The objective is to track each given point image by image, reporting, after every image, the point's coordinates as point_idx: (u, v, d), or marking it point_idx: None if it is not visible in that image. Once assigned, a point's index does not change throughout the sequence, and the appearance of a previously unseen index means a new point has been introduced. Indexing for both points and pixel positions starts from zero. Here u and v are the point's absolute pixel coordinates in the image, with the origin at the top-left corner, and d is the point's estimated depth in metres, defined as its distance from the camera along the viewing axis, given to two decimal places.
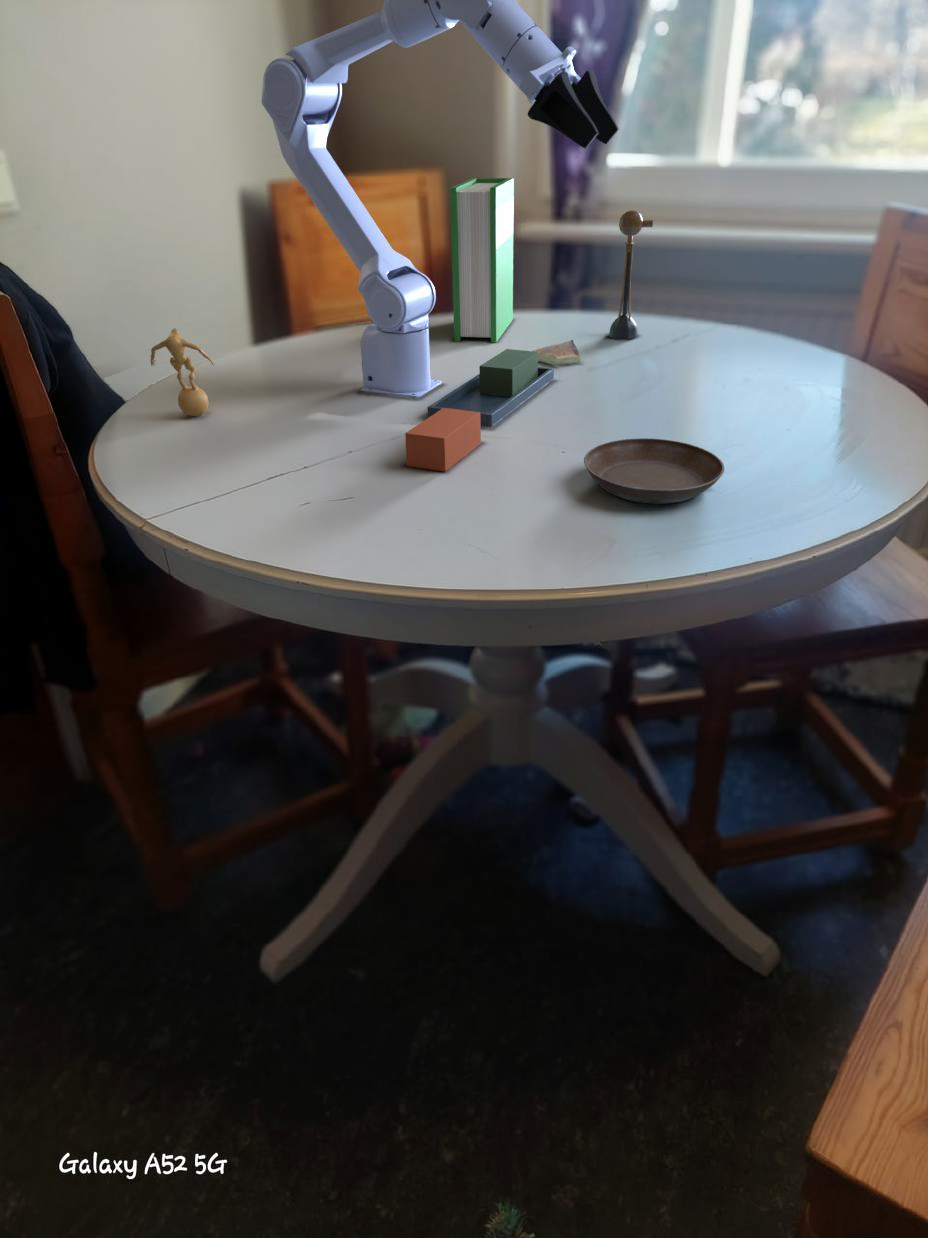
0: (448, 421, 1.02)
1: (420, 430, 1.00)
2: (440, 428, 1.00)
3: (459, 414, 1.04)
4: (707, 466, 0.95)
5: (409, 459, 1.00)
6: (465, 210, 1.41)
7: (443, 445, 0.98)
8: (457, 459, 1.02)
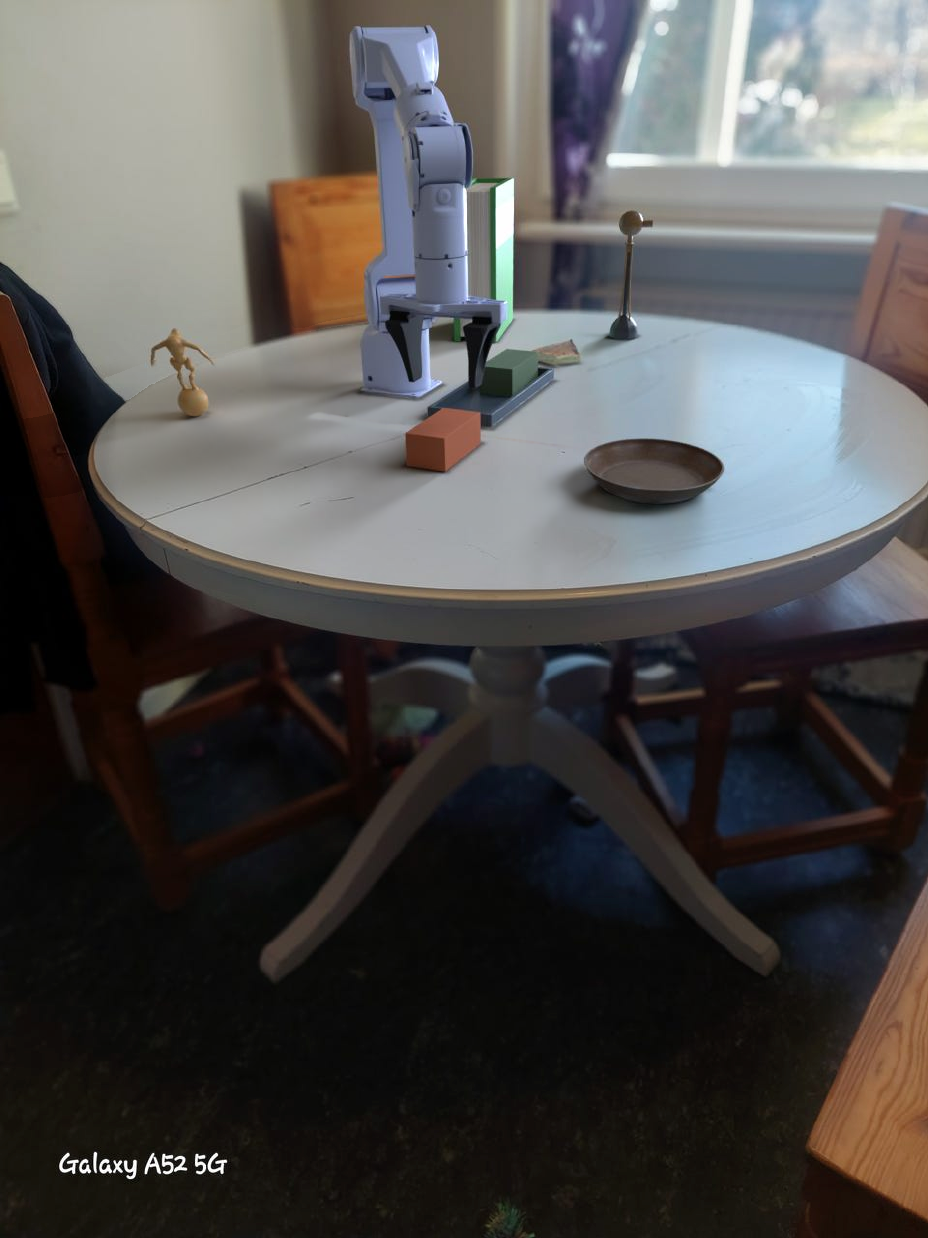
0: (448, 421, 1.02)
1: (420, 430, 1.00)
2: (440, 428, 1.00)
3: (459, 414, 1.04)
4: (707, 466, 0.95)
5: (409, 459, 1.00)
6: None
7: (443, 445, 0.98)
8: (457, 459, 1.02)
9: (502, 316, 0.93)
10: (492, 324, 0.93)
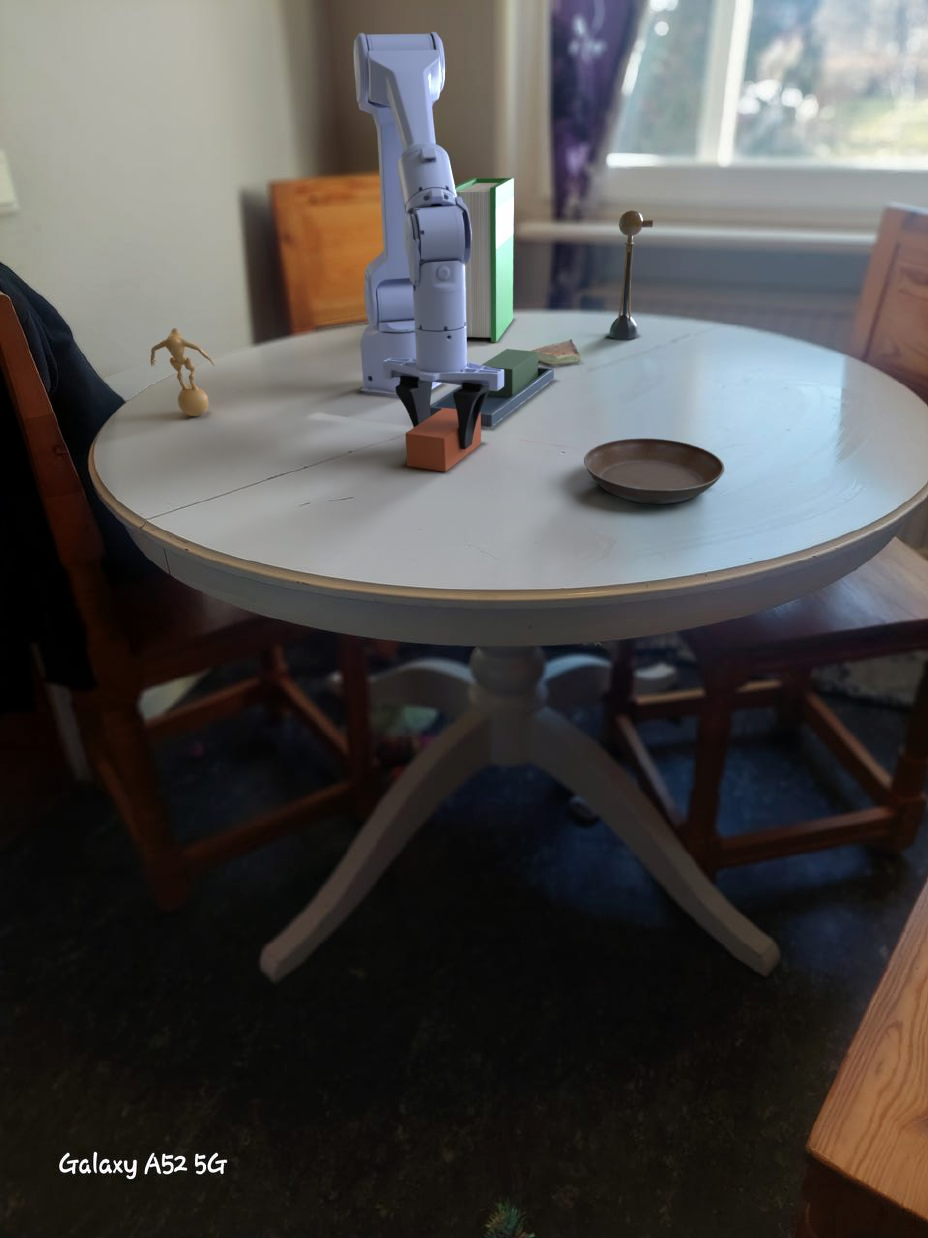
0: (448, 421, 1.02)
1: (421, 430, 1.00)
2: (441, 428, 1.00)
3: None
4: (707, 466, 0.95)
5: (409, 459, 1.00)
6: None
7: (443, 445, 0.98)
8: (457, 459, 1.02)
9: (499, 384, 0.96)
10: (481, 390, 0.97)
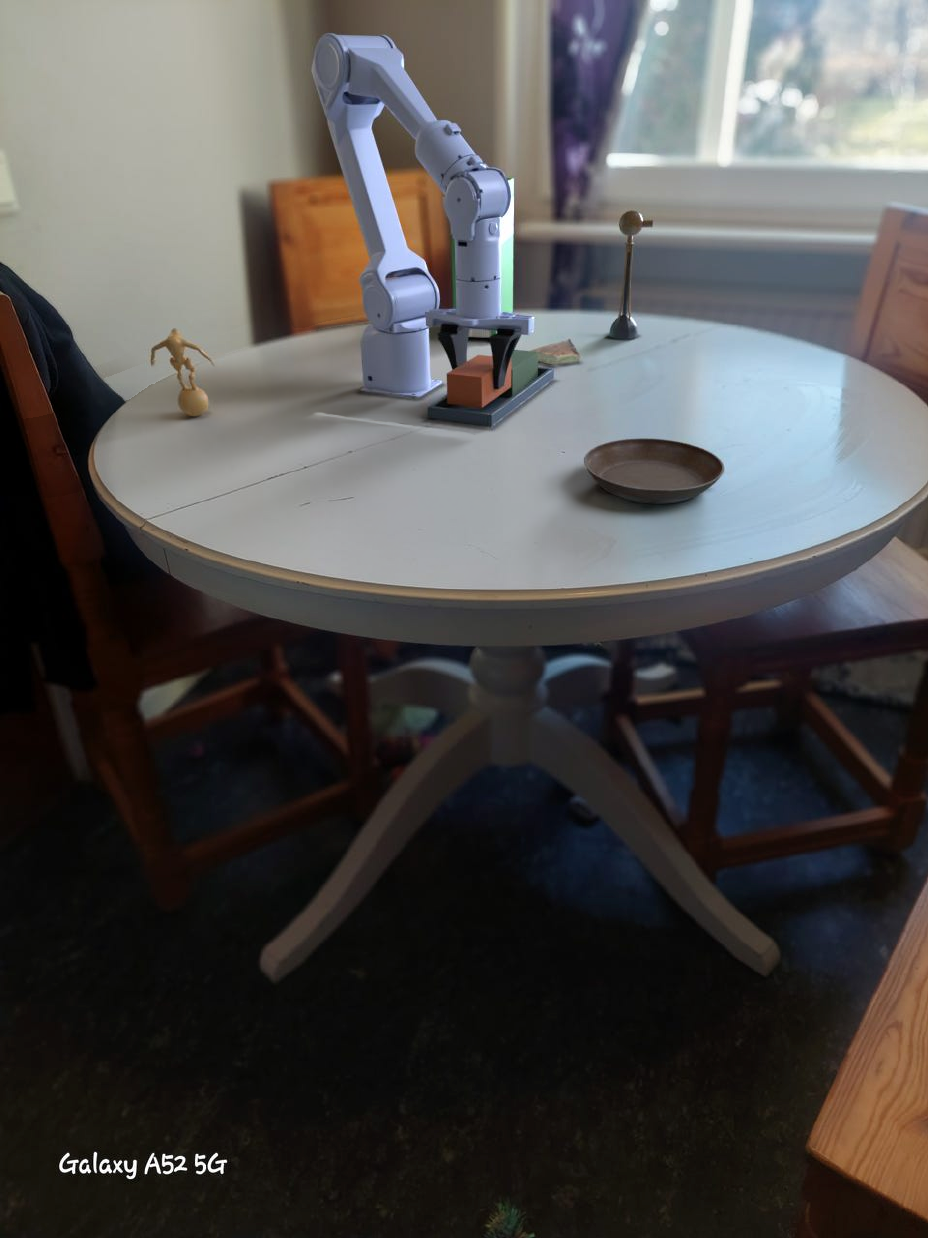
0: (483, 364, 1.15)
1: (460, 371, 1.13)
2: (477, 369, 1.13)
3: (492, 359, 1.17)
4: (707, 466, 0.95)
5: (449, 397, 1.14)
6: None
7: (481, 383, 1.11)
8: (492, 398, 1.15)
9: (530, 329, 1.09)
10: (513, 335, 1.11)
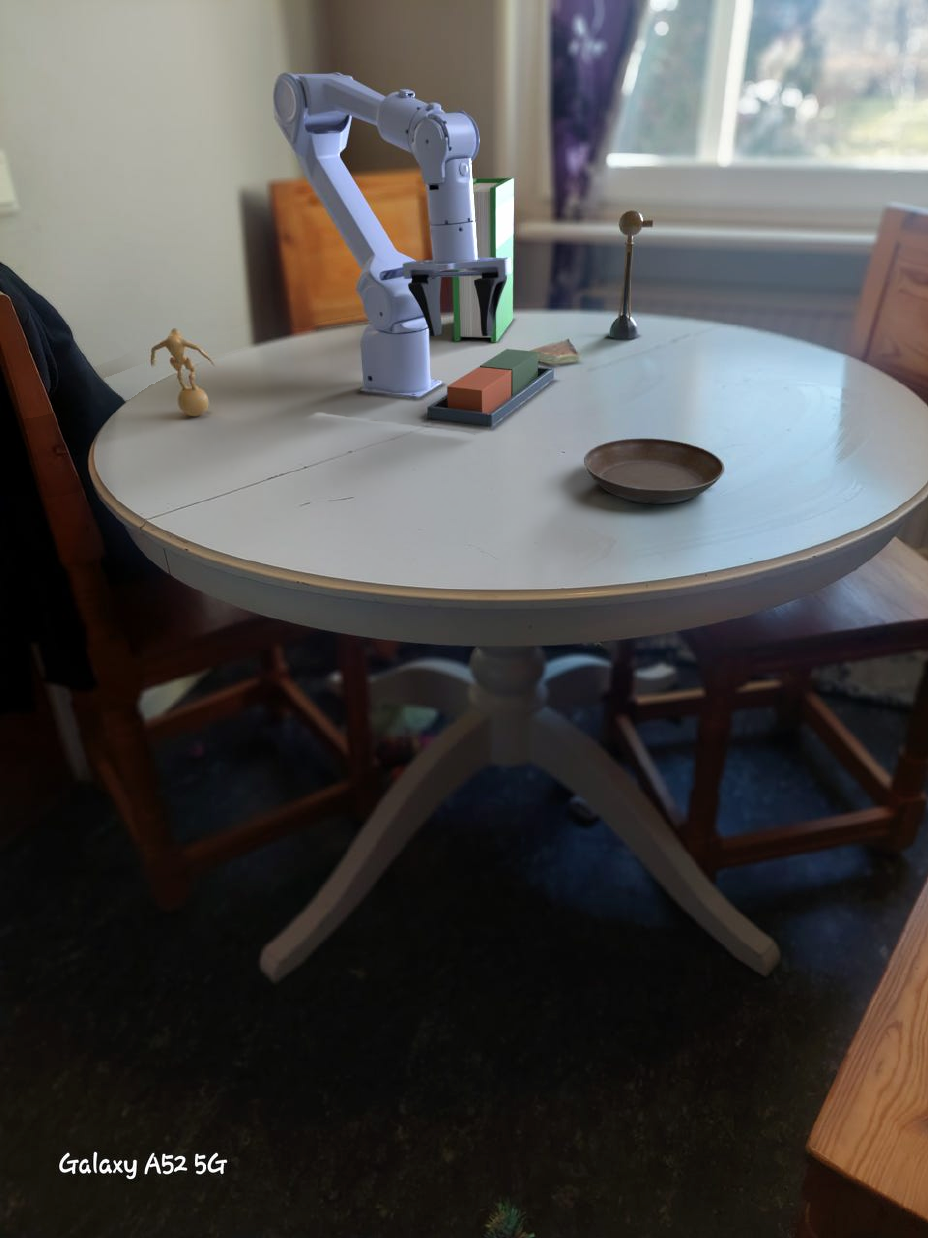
0: (484, 377, 1.16)
1: (460, 384, 1.14)
2: (478, 382, 1.14)
3: (492, 372, 1.18)
4: (707, 466, 0.95)
5: None
6: None
7: (481, 396, 1.12)
8: (492, 410, 1.16)
9: (507, 270, 1.09)
10: (498, 277, 1.09)
